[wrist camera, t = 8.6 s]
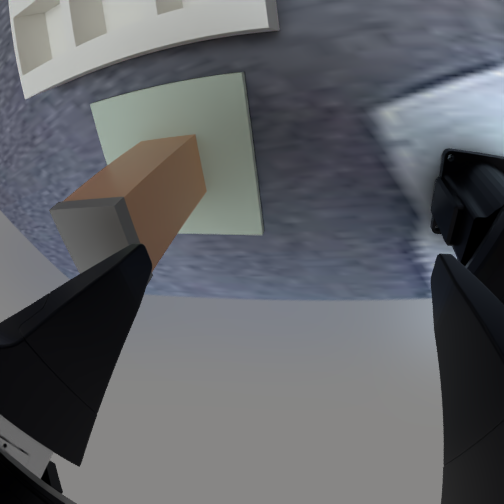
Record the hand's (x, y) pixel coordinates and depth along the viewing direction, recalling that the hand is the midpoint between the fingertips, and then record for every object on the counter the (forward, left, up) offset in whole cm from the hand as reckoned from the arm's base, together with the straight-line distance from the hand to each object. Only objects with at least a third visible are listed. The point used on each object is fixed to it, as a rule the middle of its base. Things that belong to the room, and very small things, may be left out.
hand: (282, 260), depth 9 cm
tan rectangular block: (+10, +2, -12) cm, 16 cm away
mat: (+10, +2, -13) cm, 16 cm away
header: (+10, -11, -13) cm, 20 cm away
